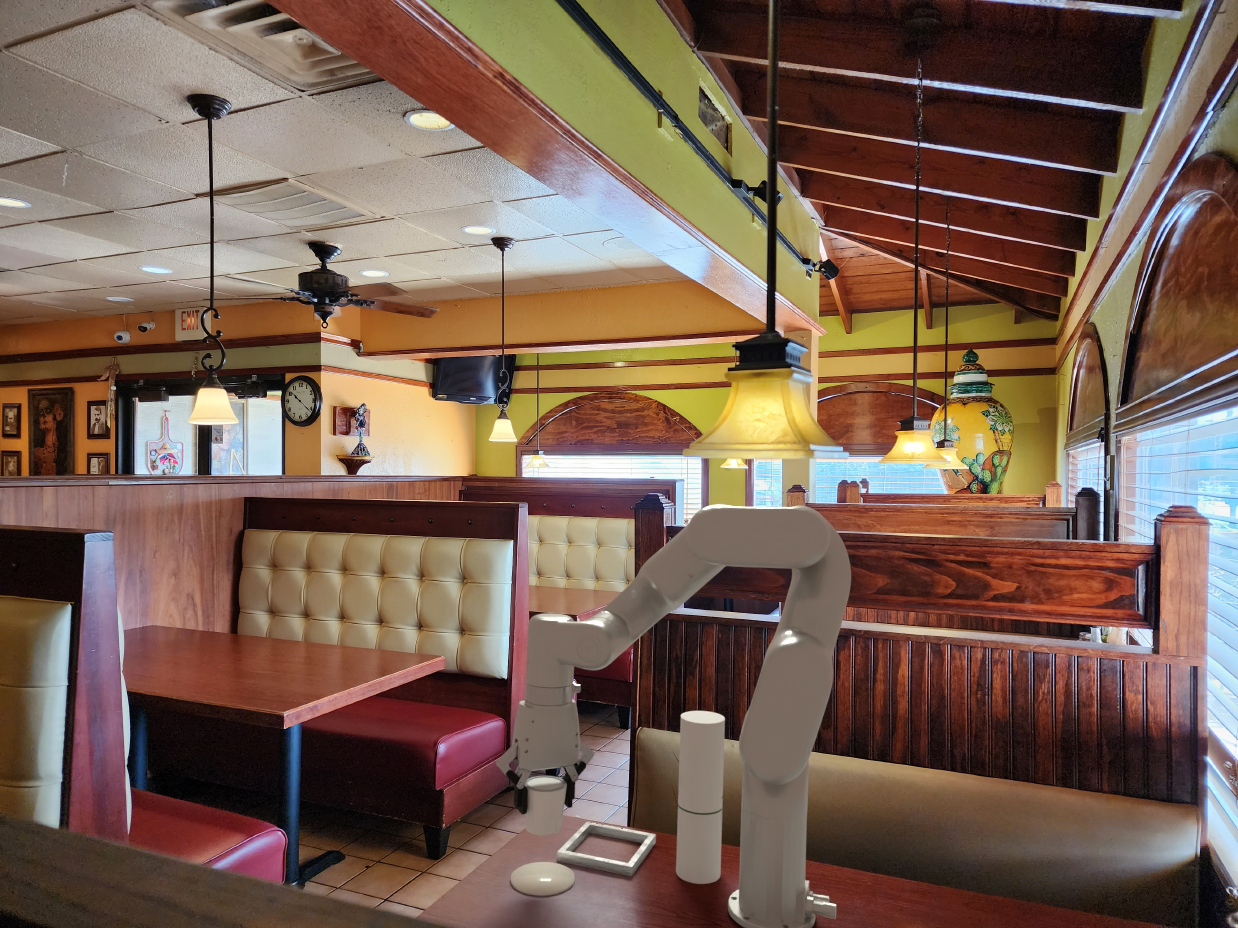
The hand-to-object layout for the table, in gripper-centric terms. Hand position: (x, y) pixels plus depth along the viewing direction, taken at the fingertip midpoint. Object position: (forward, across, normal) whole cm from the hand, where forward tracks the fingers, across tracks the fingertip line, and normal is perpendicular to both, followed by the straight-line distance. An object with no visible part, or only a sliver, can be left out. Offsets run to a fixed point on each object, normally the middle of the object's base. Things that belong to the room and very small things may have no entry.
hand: (544, 806), depth 126 cm
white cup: (+3, 0, 0) cm, 3 cm away
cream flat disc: (+11, 0, 0) cm, 11 cm away
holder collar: (+11, -14, -5) cm, 18 cm away
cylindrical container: (+11, -24, +7) cm, 28 cm away
